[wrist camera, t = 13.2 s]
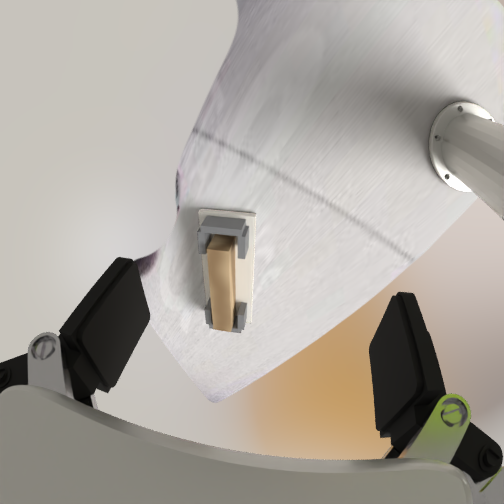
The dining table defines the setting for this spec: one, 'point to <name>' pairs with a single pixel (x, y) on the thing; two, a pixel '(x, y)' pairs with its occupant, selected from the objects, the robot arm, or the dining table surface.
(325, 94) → the dining table surface
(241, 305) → the mounting board
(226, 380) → the dining table surface
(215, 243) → the slat
